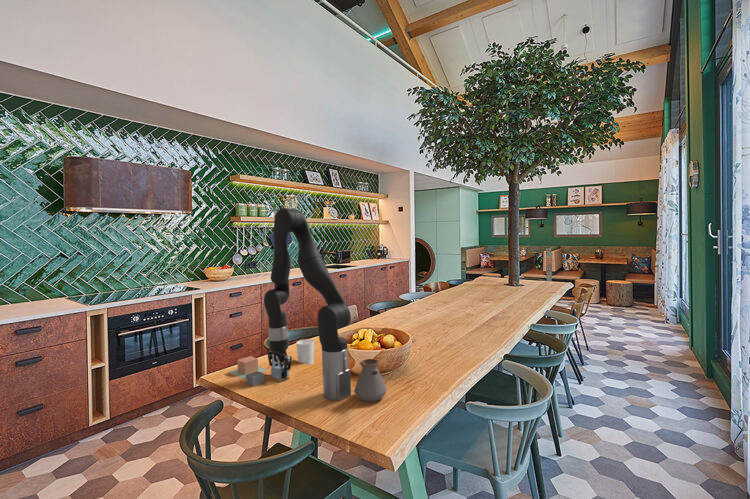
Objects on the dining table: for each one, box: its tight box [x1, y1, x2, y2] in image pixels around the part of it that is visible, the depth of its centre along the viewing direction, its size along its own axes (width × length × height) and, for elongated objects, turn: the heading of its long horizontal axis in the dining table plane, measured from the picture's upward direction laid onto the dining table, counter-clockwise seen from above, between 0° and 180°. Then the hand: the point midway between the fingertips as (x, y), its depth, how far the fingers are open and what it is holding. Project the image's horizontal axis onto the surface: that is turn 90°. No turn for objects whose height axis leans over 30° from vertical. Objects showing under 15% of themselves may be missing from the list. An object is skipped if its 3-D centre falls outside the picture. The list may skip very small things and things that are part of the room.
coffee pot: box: [354, 358, 387, 403], centre depth 126 cm, size 21×12×15 cm, turn 9°
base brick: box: [236, 355, 259, 375], centre depth 156 cm, size 6×6×5 cm
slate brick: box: [245, 371, 266, 387], centre depth 143 cm, size 5×5×5 cm
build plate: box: [227, 365, 269, 380], centre depth 156 cm, size 12×12×2 cm
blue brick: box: [270, 365, 290, 384], centre depth 149 cm, size 5×5×5 cm
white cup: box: [295, 338, 315, 366], centre depth 167 cm, size 8×8×10 cm
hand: (280, 378), depth 149 cm, fingers closed on blue brick, 5 cm apart
